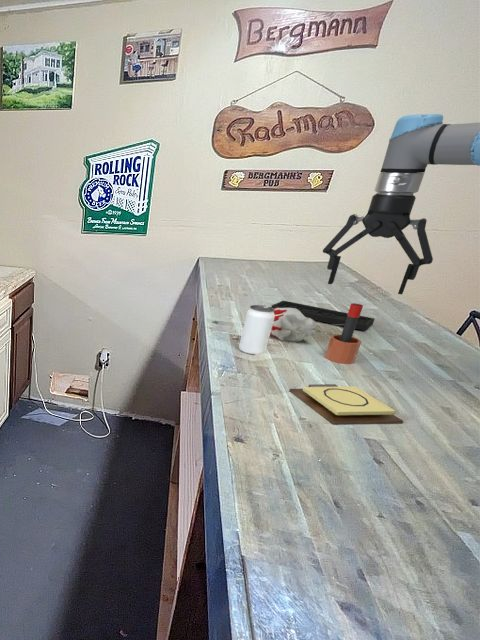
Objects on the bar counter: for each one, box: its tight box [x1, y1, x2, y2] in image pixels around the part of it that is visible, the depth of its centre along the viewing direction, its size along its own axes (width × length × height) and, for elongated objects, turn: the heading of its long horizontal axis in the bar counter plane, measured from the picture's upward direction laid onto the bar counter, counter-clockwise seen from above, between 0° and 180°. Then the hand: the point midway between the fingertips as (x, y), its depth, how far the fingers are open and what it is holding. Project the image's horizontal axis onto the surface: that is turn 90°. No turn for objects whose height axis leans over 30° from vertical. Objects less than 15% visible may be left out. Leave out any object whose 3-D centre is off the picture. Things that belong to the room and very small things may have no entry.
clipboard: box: [289, 383, 404, 425], centre depth 95 cm, size 14×14×2 cm
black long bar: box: [270, 300, 375, 331], centre depth 146 cm, size 26×3×30 cm
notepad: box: [302, 385, 396, 415], centre depth 94 cm, size 11×12×1 cm
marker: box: [339, 303, 364, 343], centre depth 114 cm, size 2×2×14 cm
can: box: [238, 304, 275, 356], centre depth 120 cm, size 6×6×12 cm
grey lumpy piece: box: [270, 307, 317, 343], centre depth 131 cm, size 9×11×15 cm
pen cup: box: [324, 334, 362, 365], centre depth 116 cm, size 6×6×6 cm
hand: (364, 288), depth 109 cm, fingers open, 13 cm apart
